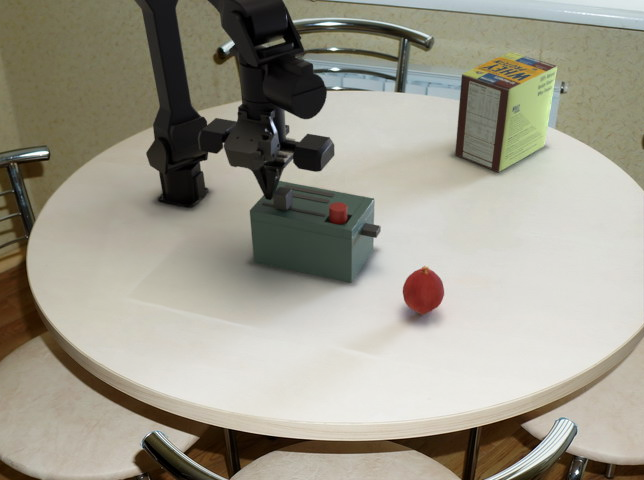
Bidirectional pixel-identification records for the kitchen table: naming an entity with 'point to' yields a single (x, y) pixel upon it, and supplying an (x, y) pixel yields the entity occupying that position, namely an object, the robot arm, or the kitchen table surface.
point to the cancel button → (338, 213)
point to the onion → (423, 290)
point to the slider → (282, 198)
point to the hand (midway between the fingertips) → (269, 198)
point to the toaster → (314, 233)
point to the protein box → (504, 110)
